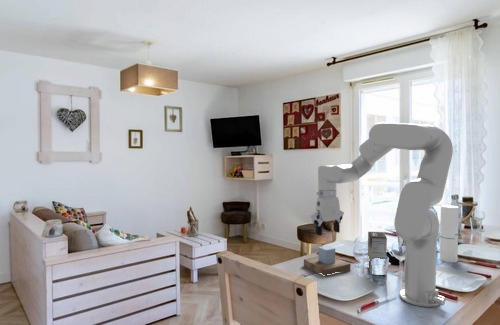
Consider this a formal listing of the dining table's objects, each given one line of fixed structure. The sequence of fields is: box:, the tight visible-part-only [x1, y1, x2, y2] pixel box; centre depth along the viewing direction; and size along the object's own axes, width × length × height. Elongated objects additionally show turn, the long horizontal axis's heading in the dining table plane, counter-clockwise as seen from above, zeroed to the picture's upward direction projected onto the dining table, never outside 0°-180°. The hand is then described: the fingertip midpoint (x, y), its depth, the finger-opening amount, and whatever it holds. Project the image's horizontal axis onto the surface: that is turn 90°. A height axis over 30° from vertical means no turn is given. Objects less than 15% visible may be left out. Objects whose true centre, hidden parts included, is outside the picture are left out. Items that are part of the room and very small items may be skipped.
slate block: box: [317, 245, 336, 264], centre depth 146 cm, size 5×5×6 cm
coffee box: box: [367, 231, 388, 276], centre depth 142 cm, size 9×6×16 cm
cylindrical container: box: [439, 204, 460, 263], centre depth 156 cm, size 7×7×25 cm
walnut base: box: [303, 255, 351, 275], centre depth 146 cm, size 14×14×3 cm
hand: (327, 233), depth 145 cm, fingers open, 9 cm apart
